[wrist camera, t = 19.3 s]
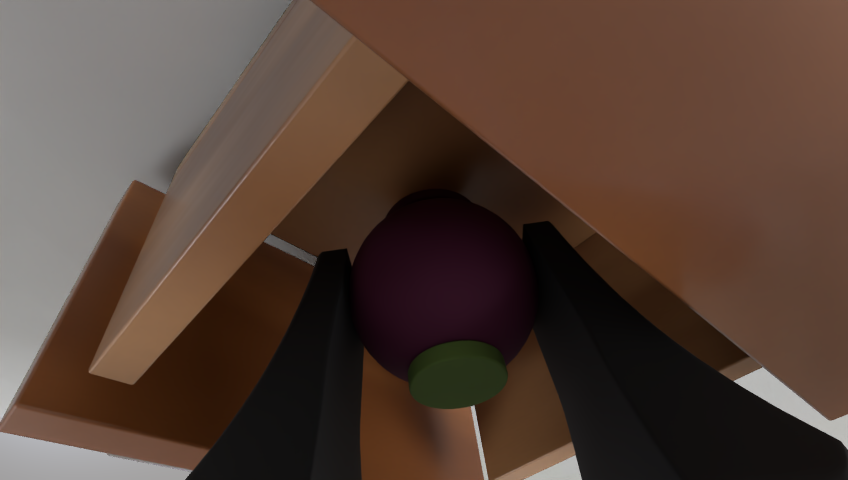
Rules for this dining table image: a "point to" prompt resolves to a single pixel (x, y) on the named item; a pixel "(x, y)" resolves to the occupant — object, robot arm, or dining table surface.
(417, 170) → the drawer
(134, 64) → the dining table surface
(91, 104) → the dining table surface
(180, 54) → the dining table surface
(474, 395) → the mangosteen
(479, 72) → the cabinet
